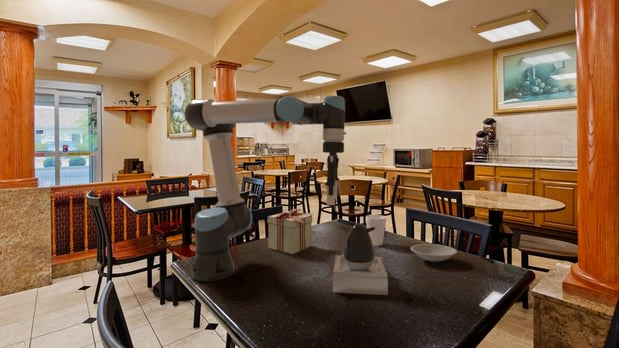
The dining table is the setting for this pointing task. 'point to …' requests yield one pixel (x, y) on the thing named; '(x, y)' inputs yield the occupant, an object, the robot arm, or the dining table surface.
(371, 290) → the white tray
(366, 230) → the pump dispenser
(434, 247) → the dish
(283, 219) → the gift box
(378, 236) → the foam cup
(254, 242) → the dining table surface
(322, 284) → the dining table surface
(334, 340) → the dining table surface
